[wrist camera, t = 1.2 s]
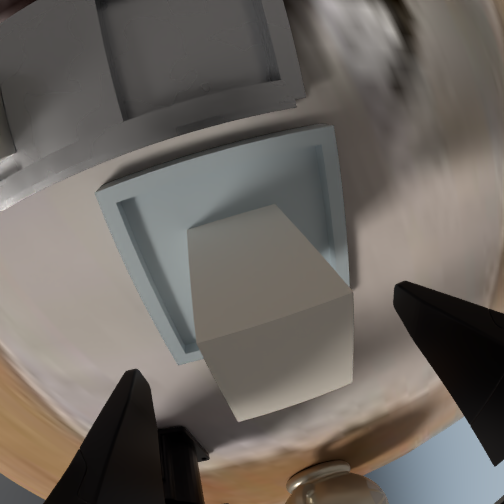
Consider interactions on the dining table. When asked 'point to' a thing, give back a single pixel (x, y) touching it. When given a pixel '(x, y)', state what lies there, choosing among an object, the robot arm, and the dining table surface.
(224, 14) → the tray
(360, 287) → the dining table surface
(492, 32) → the dining table surface
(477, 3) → the dining table surface
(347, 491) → the teapot
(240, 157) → the blue-grey square tray
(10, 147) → the seated billet
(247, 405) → the block
